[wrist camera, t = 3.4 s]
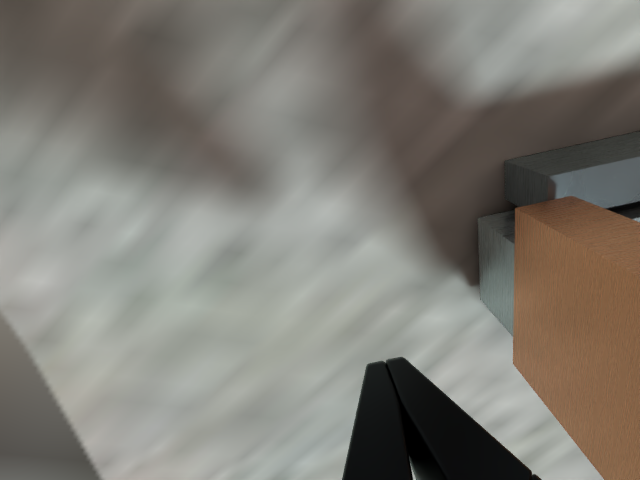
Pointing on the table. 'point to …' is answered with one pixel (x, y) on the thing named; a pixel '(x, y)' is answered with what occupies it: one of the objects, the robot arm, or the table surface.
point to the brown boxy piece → (573, 317)
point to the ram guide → (578, 173)
